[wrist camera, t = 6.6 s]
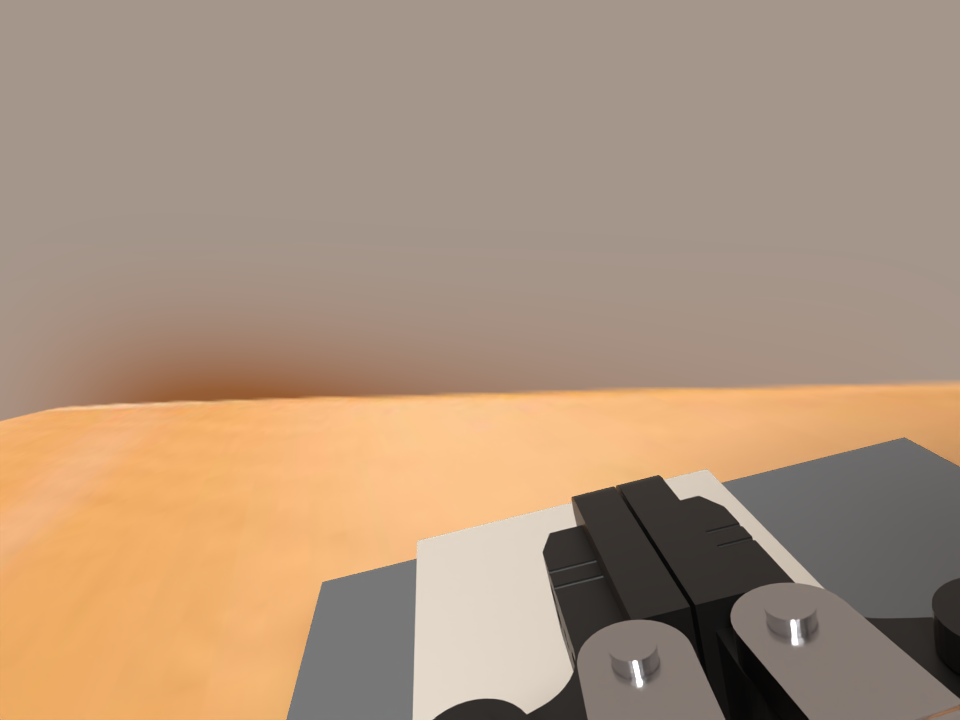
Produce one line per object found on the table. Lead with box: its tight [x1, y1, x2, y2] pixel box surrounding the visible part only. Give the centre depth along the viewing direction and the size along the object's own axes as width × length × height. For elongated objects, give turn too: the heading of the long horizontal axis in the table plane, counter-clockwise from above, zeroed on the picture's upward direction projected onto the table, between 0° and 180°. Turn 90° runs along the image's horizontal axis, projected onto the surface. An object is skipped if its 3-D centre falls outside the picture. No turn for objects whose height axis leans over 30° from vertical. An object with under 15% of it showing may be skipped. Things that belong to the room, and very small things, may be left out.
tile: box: [413, 469, 824, 720], centre depth 17 cm, size 10×2×14 cm
